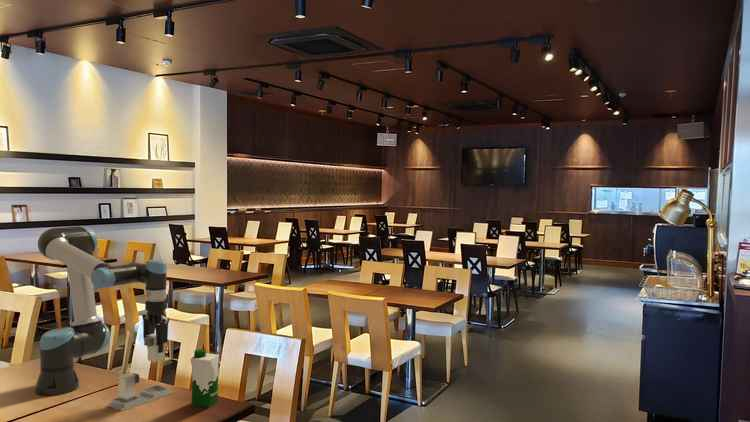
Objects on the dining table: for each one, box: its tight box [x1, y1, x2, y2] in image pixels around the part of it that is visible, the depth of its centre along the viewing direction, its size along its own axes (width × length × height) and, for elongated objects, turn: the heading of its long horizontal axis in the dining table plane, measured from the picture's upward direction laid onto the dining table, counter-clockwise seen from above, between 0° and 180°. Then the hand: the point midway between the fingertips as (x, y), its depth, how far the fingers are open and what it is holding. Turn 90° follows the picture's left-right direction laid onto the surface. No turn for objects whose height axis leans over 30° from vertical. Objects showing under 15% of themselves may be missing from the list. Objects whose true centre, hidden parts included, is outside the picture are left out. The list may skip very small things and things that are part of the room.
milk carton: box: [190, 348, 220, 409], centre depth 208 cm, size 9×9×20 cm
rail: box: [107, 372, 173, 412], centre depth 212 cm, size 8×22×11 cm, turn 147°
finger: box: [143, 332, 165, 363], centre depth 215 cm, size 6×4×10 cm, turn 148°
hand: (155, 359), depth 216 cm, fingers closed on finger, 4 cm apart
